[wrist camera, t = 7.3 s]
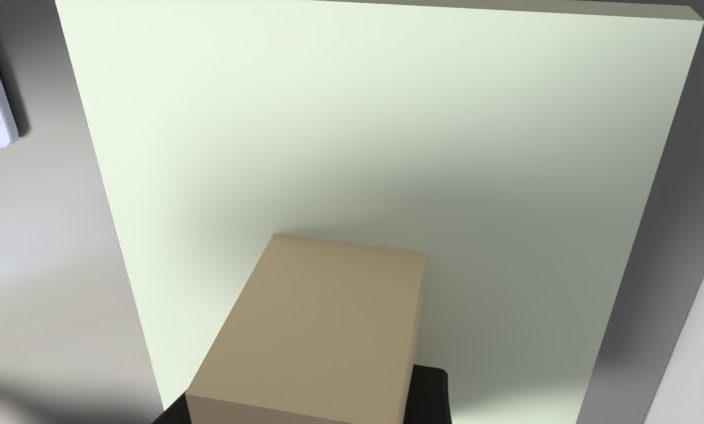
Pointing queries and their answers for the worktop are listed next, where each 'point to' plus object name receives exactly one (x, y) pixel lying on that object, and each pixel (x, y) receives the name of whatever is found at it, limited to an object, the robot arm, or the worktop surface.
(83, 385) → the worktop surface
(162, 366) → the cover plate
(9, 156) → the worktop surface
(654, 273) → the charcoal mat
